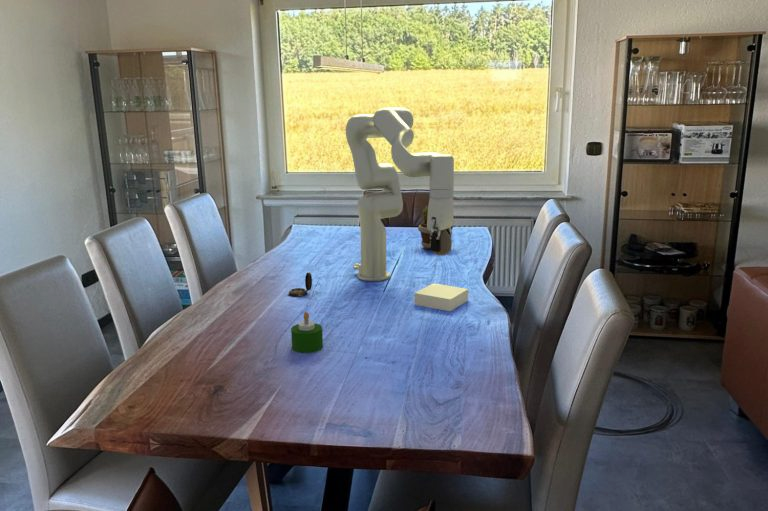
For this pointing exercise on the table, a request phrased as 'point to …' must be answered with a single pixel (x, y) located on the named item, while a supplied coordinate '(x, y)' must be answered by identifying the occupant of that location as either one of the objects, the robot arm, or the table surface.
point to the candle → (307, 336)
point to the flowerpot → (425, 231)
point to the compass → (300, 290)
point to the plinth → (441, 297)
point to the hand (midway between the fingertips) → (441, 248)
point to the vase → (444, 243)
